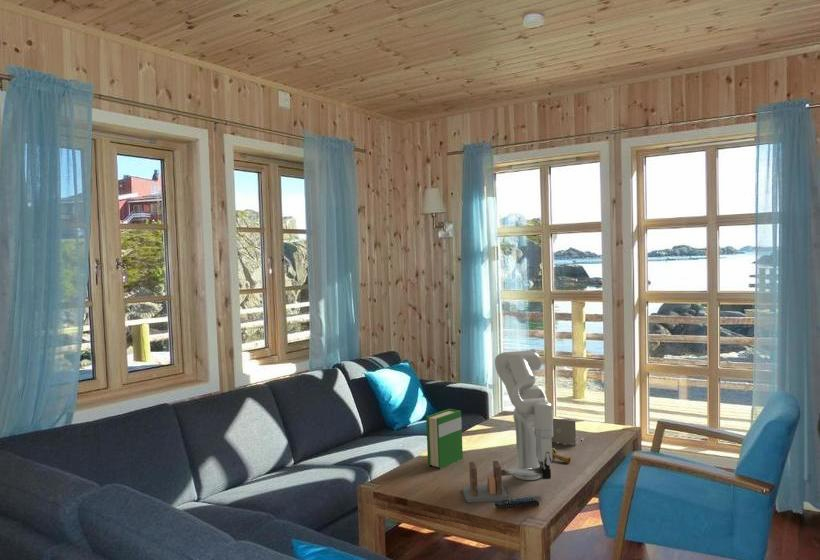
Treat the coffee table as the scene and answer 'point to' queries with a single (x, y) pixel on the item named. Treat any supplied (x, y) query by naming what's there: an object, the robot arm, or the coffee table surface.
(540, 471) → the shaft
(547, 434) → the robot arm
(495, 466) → the stand
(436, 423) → the hardback book
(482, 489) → the base board
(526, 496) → the coffee table surface
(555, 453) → the kendama
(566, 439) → the laptop
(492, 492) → the collar
